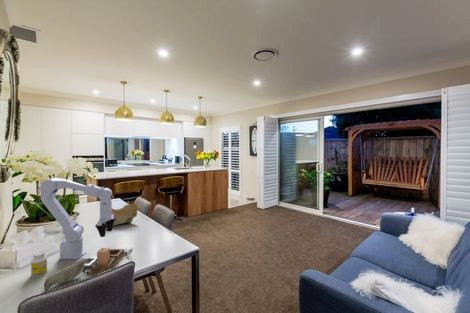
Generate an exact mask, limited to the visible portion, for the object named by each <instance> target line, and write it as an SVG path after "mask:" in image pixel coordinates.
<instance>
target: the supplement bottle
mask: <svg viewBox="0 0 470 313" xmlns="http://www.w3.org/2000/svg"><path fill="white" fill-rule="evenodd" d="M45 253H46V252H45V251H43V250H42V251H37V252H34V253H33V255H32V259H31V261H30V267H31V269H30V270H31V271H30V272H31V273H30V274H31V277H34V278H38V277H41V276H43V275H44V276H45V274H47V272H48V260H47V259H48V257H47V256H46V254H45Z"/></svg>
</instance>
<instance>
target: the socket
mask: <svg viewBox="0 0 470 313" xmlns="http://www.w3.org/2000/svg"><path fill="white" fill-rule="evenodd" d="M86 258H88V261H87V262H89V263H87V262H86V264H84V268H83V270H84V269H85V268H86V269H87V270H88V269H89V270H90V266H91V265H92V264H94V263H95V262H96V261H97V256H94V257H93V256H91V257H89V256H88V257H87V256H86V257H82V256H81V257H80V259H78V260H77V261H76V262H75V263H78V262H80V261H81V260H84V259H86Z"/></svg>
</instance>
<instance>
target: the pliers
mask: <svg viewBox="0 0 470 313" xmlns="http://www.w3.org/2000/svg"><path fill="white" fill-rule="evenodd" d="M132 251H133V247H130V248H129V249H128V247H125V248H124V252H125V255H124V256H122V258H126V259H128V262H130V261H131V262H132V260H133V256H132V255H131V252H132ZM131 262H130V263H131Z"/></svg>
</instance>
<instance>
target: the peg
mask: <svg viewBox="0 0 470 313" xmlns="http://www.w3.org/2000/svg"><path fill="white" fill-rule="evenodd" d="M110 249H111V248H110V247H101V248H100V249H99V250H98V251H97V252H96V257H97V265H107V264H108V263H109V262H110Z"/></svg>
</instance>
